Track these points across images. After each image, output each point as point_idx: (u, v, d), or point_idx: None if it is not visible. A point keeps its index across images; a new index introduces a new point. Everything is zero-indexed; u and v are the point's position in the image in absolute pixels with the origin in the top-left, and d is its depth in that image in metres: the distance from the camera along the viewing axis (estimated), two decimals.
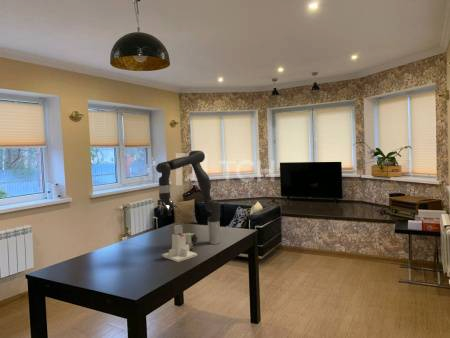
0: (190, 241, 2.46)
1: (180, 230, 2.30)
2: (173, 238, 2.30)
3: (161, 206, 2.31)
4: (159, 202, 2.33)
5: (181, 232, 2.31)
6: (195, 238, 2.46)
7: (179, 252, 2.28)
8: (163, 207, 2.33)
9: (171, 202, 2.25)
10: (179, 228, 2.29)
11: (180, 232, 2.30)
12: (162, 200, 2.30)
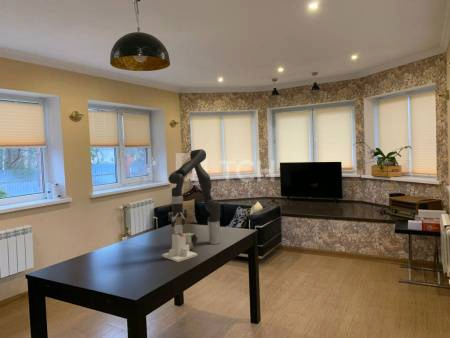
0: (190, 241, 2.46)
1: (180, 230, 2.30)
2: (173, 238, 2.30)
3: None
4: (171, 214, 2.26)
5: (181, 232, 2.31)
6: (195, 238, 2.46)
7: (179, 252, 2.28)
8: None
9: None
10: (179, 228, 2.29)
11: (180, 232, 2.30)
12: (176, 211, 2.29)
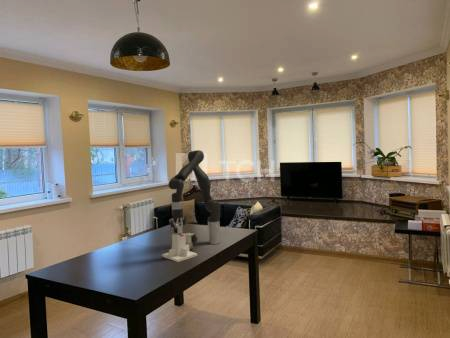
0: (190, 241, 2.46)
1: (180, 230, 2.30)
2: (173, 238, 2.30)
3: None
4: (172, 221, 2.27)
5: (181, 232, 2.31)
6: (195, 238, 2.46)
7: (179, 252, 2.28)
8: None
9: None
10: (179, 228, 2.29)
11: (180, 232, 2.30)
12: (177, 216, 2.29)
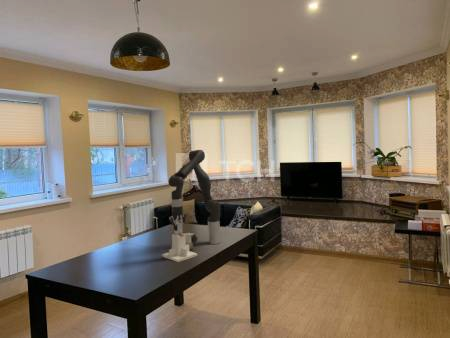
0: (190, 241, 2.46)
1: (180, 227, 2.30)
2: (173, 238, 2.30)
3: None
4: (172, 218, 2.27)
5: (181, 229, 2.31)
6: (195, 238, 2.46)
7: (179, 252, 2.28)
8: None
9: None
10: (179, 225, 2.29)
11: (180, 229, 2.30)
12: (177, 214, 2.29)
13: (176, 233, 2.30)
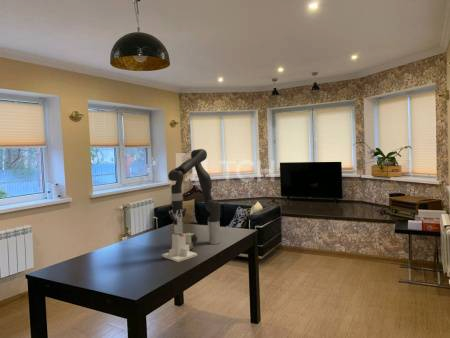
0: (190, 241, 2.46)
1: (180, 222, 2.30)
2: (173, 238, 2.30)
3: (176, 215, 2.29)
4: None
5: (181, 224, 2.30)
6: (195, 238, 2.46)
7: (179, 252, 2.28)
8: (174, 216, 2.30)
9: None
10: (179, 220, 2.29)
11: (180, 224, 2.30)
12: (176, 208, 2.29)
13: (176, 227, 2.29)
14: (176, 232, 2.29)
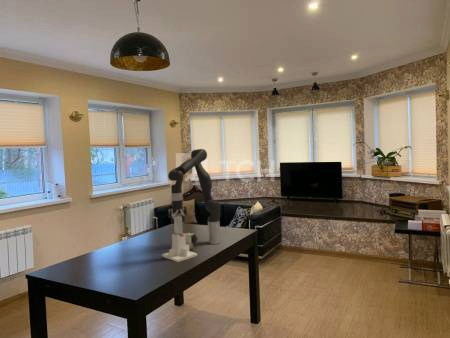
0: (190, 241, 2.46)
1: (180, 221, 2.30)
2: (173, 238, 2.30)
3: None
4: (171, 211, 2.26)
5: (181, 223, 2.30)
6: (195, 238, 2.46)
7: (179, 252, 2.28)
8: (172, 216, 2.29)
9: None
10: (179, 219, 2.29)
11: (180, 223, 2.30)
12: (176, 208, 2.29)
13: (176, 227, 2.29)
14: (176, 232, 2.29)
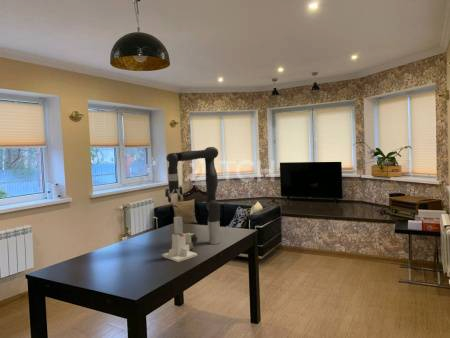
0: (190, 241, 2.46)
1: (180, 221, 2.30)
2: (173, 238, 2.30)
3: (171, 194, 2.46)
4: (168, 191, 2.44)
5: (181, 223, 2.30)
6: (195, 238, 2.46)
7: (179, 252, 2.28)
8: None
9: None
10: (179, 219, 2.29)
11: (180, 223, 2.30)
12: (173, 188, 2.46)
13: (176, 227, 2.29)
14: (176, 232, 2.29)
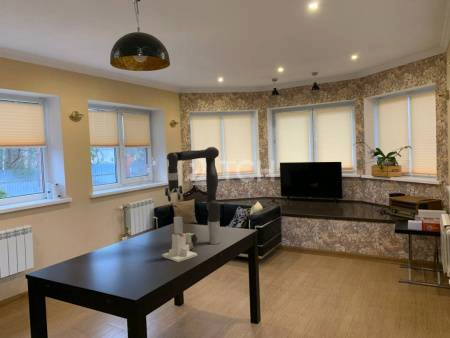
0: (190, 241, 2.46)
1: (180, 221, 2.30)
2: (173, 238, 2.30)
3: (171, 193, 2.47)
4: None
5: (181, 223, 2.30)
6: (195, 238, 2.46)
7: (179, 252, 2.28)
8: None
9: None
10: (179, 219, 2.29)
11: (180, 223, 2.30)
12: (173, 187, 2.48)
13: (176, 227, 2.29)
14: (176, 232, 2.29)
